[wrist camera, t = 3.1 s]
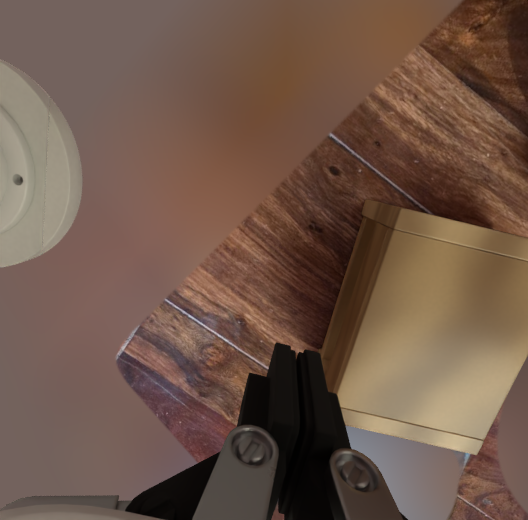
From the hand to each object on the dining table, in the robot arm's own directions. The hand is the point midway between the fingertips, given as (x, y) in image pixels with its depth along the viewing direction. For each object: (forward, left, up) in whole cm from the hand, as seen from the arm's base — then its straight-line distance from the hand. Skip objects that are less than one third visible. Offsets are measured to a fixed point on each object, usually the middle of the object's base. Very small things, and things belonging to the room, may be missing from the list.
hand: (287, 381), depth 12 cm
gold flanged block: (+10, 0, -14) cm, 17 cm away
